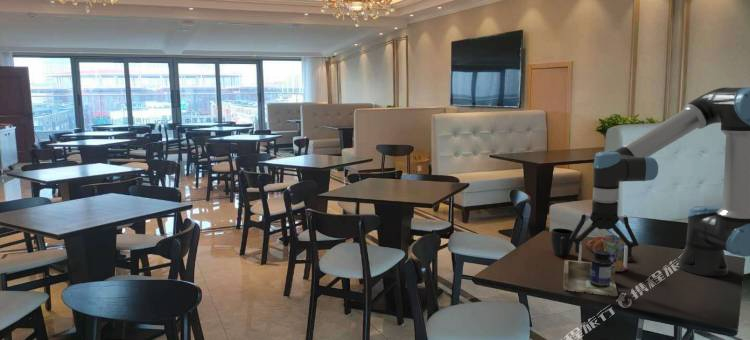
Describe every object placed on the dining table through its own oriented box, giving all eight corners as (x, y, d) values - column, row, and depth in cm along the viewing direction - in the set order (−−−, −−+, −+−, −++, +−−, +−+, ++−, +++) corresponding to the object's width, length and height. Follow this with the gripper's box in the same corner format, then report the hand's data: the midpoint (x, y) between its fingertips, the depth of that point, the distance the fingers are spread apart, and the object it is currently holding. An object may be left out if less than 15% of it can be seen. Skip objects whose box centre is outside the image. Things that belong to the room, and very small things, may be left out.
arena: (613, 281, 180) (615, 264, 179) (617, 296, 167) (618, 278, 166) (563, 275, 185) (564, 259, 184) (563, 290, 172) (564, 272, 171)
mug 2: (629, 274, 187) (631, 245, 185) (600, 271, 190) (602, 242, 188) (626, 264, 198) (628, 236, 196) (599, 261, 201) (600, 234, 199)
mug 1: (549, 259, 203) (550, 235, 202) (550, 250, 214) (552, 227, 213) (572, 261, 200) (574, 237, 199) (572, 252, 211) (574, 229, 210)
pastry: (583, 257, 207) (584, 237, 205) (585, 246, 220) (587, 227, 219) (631, 263, 200) (633, 242, 198) (630, 252, 213) (632, 232, 212)
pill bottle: (586, 281, 178) (589, 248, 176) (605, 281, 177) (608, 249, 176) (593, 287, 172) (595, 254, 170) (612, 288, 171) (615, 255, 170)
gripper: (647, 200, 170) (643, 264, 173) (563, 196, 178) (561, 257, 181) (650, 205, 163) (646, 271, 166) (563, 200, 171) (561, 264, 174)
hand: (602, 264), depth 174 cm, fingers open, 13 cm apart
